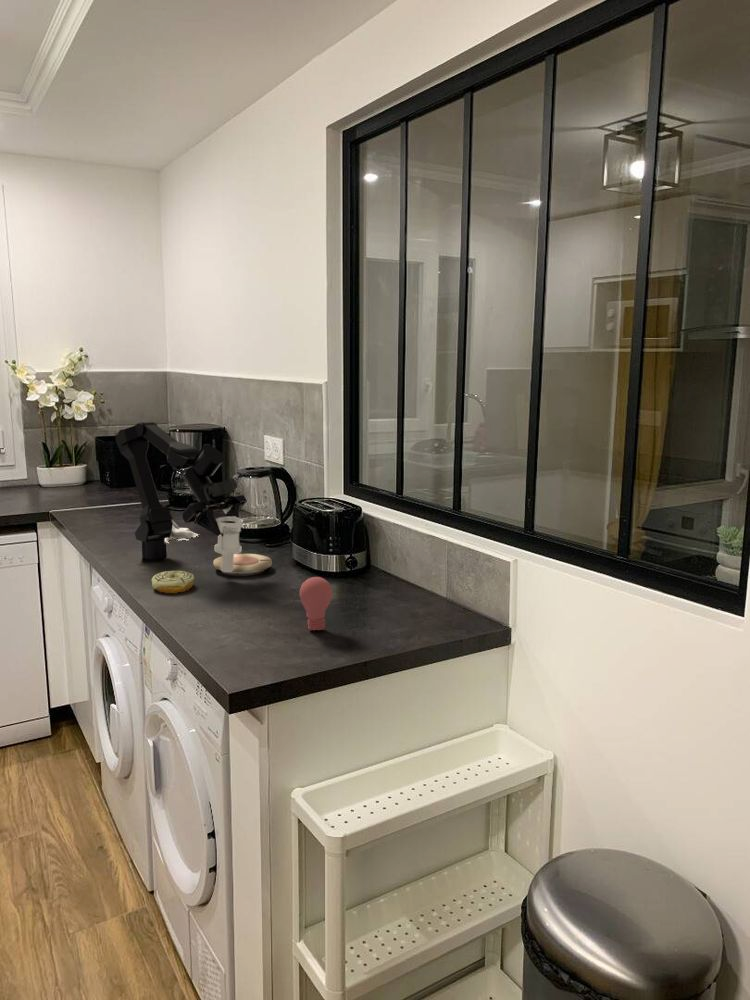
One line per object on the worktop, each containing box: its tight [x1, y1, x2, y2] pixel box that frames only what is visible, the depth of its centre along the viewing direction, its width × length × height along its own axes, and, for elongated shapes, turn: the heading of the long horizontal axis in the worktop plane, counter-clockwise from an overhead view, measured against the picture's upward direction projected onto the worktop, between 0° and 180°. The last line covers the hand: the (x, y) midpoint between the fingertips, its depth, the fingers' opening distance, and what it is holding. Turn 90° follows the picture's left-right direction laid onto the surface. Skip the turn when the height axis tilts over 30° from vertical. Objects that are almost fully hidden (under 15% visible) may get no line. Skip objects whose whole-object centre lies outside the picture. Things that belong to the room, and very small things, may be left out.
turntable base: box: [220, 569, 265, 577], centre depth 209 cm, size 12×12×2 cm
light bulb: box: [299, 576, 333, 631], centre depth 163 cm, size 7×7×12 cm
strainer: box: [214, 516, 244, 573], centre depth 196 cm, size 7×7×15 cm
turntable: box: [212, 553, 273, 572], centre depth 209 cm, size 16×16×1 cm
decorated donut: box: [150, 570, 195, 594], centre depth 191 cm, size 10×11×4 cm
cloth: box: [165, 519, 199, 544], centre depth 246 cm, size 22×19×6 cm
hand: (231, 534), depth 196 cm, fingers closed on strainer, 6 cm apart
